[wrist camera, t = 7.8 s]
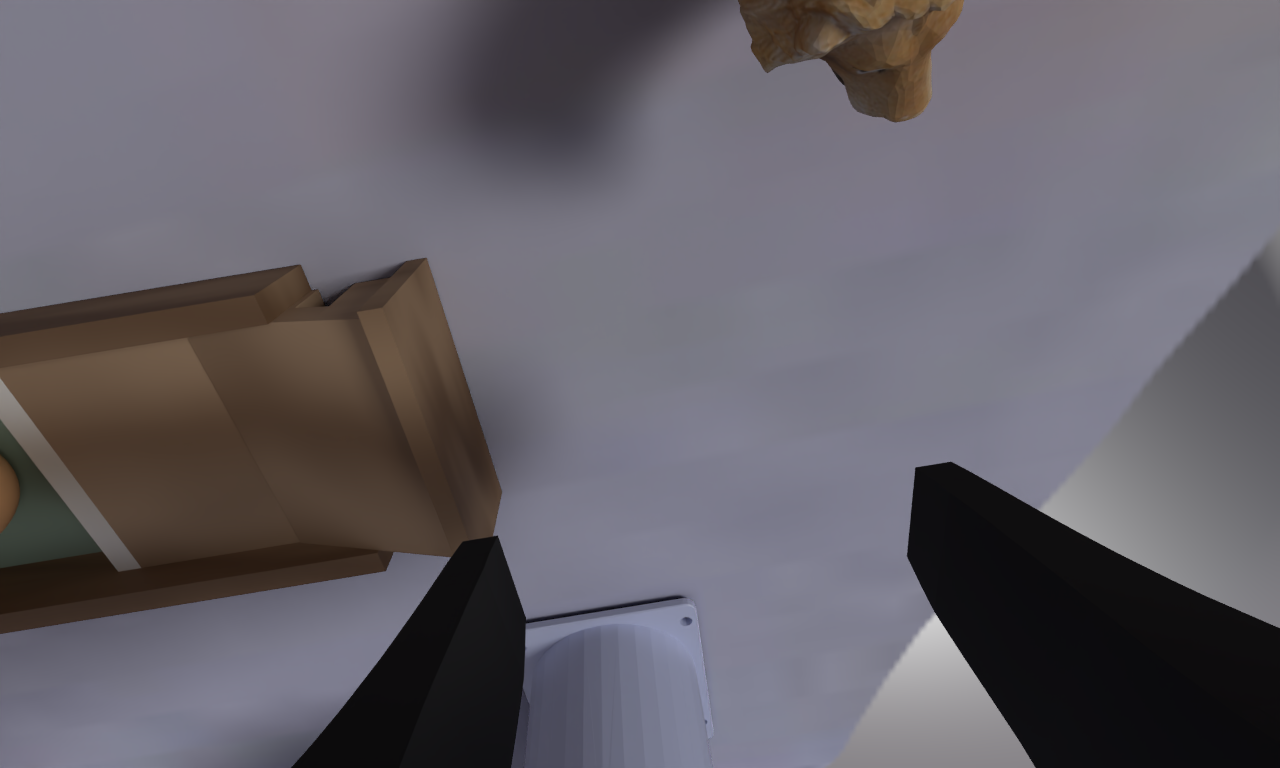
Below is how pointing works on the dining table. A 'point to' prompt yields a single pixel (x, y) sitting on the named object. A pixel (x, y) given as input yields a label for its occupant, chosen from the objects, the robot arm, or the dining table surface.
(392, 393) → the wooden shadow box
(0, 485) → the ball
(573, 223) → the dining table surface
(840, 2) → the lion figurine
